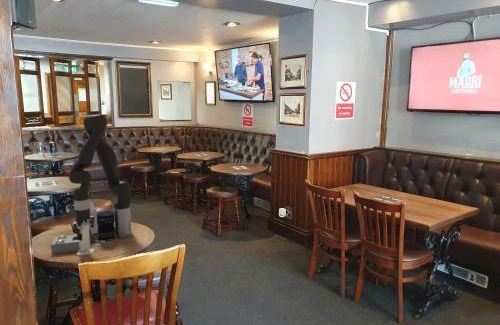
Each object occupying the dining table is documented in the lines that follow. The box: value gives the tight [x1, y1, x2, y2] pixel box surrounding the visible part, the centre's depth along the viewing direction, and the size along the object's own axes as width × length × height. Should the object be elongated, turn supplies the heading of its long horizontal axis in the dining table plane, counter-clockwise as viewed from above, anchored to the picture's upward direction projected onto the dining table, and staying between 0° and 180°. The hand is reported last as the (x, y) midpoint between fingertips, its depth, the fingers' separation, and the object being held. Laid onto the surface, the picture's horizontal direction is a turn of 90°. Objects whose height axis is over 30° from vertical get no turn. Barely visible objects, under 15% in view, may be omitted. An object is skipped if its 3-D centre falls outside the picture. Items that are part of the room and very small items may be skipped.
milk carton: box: [90, 201, 98, 235], centre depth 221 cm, size 7×7×19 cm
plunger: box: [58, 234, 66, 239], centre depth 202 cm, size 3×3×6 cm
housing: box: [50, 234, 92, 254], centre depth 200 cm, size 18×12×5 cm, turn 109°
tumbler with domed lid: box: [78, 222, 91, 251], centre depth 192 cm, size 6×6×16 cm
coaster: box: [76, 248, 95, 256], centre depth 194 cm, size 8×6×1 cm
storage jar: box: [97, 210, 116, 242], centre depth 214 cm, size 10×10×15 cm
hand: (84, 238), depth 192 cm, fingers closed on tumbler with domed lid, 5 cm apart
